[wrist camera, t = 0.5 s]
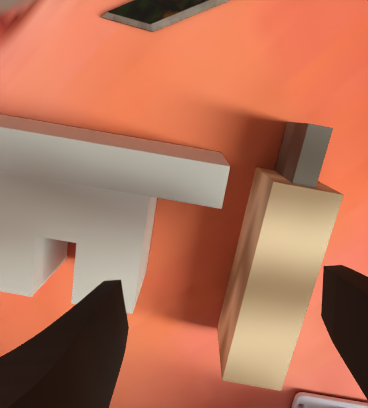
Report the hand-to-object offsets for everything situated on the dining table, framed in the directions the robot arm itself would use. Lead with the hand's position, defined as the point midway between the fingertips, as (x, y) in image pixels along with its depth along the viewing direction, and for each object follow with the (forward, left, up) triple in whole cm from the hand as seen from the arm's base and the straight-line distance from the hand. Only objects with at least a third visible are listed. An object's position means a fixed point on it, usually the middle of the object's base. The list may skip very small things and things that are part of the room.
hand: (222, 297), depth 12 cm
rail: (-1, -4, -11) cm, 11 cm away
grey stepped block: (-1, +8, -10) cm, 13 cm away
